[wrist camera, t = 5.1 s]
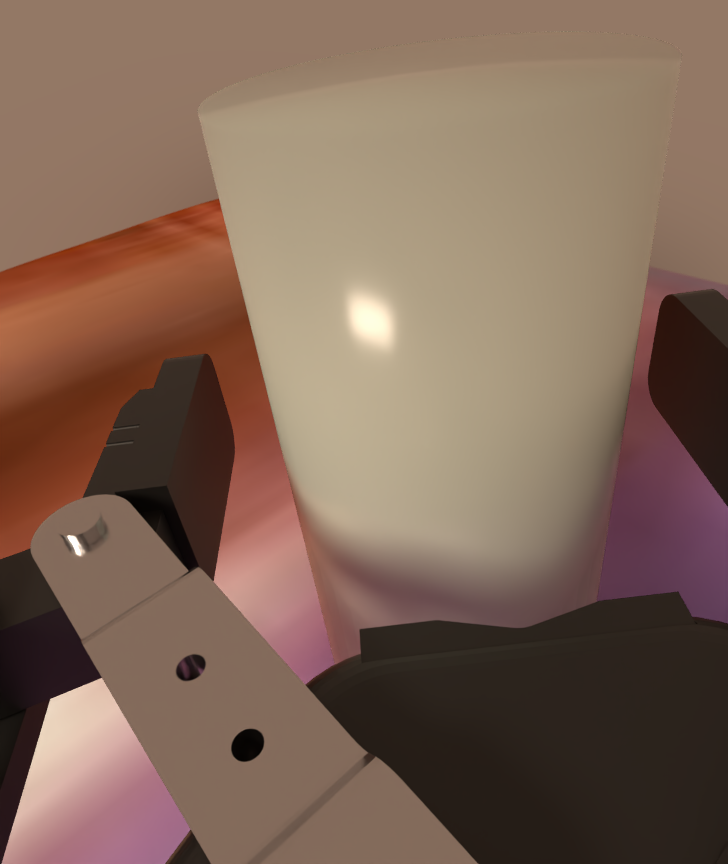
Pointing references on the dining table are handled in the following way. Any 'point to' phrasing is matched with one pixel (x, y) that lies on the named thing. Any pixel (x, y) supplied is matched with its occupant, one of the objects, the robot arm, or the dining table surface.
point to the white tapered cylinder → (449, 308)
